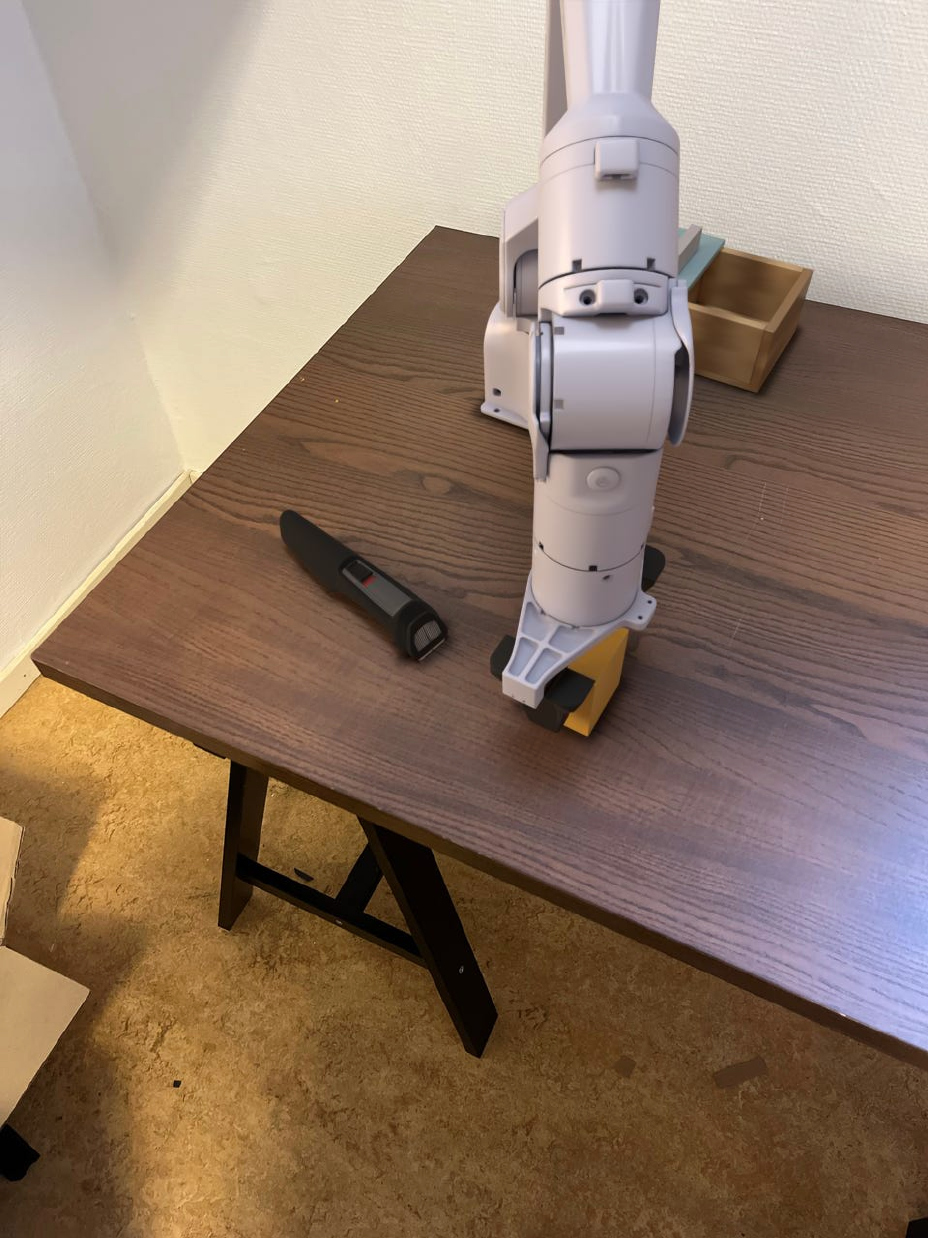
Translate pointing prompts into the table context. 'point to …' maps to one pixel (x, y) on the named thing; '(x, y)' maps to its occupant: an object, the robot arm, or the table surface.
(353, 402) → the table surface
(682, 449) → the table surface
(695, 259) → the teal lid
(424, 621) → the electric trimmer
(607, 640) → the block
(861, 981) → the table surface
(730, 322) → the box
